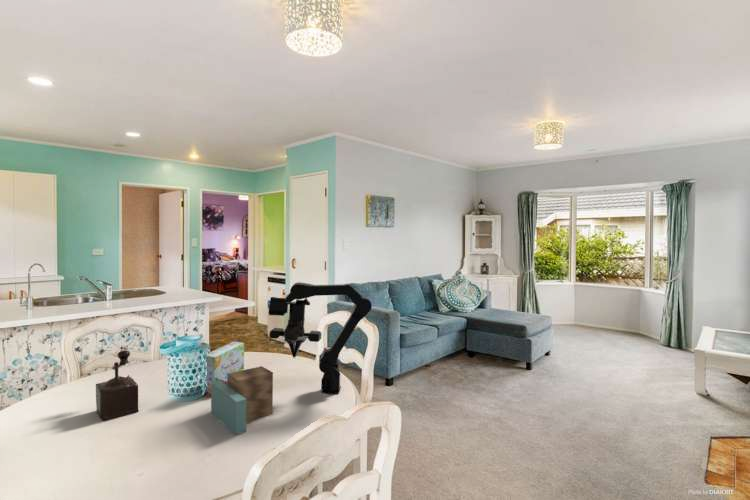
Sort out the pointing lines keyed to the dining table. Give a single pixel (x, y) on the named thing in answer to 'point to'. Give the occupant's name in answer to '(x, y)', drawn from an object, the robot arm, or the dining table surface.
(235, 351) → the snack box
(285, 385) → the dining table surface
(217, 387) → the teal board
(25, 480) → the dining table surface
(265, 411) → the walnut block
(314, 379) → the dining table surface
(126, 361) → the pepper mill
